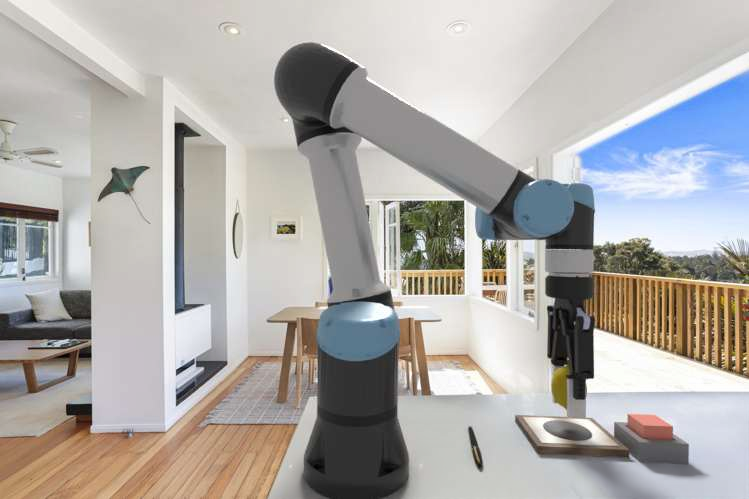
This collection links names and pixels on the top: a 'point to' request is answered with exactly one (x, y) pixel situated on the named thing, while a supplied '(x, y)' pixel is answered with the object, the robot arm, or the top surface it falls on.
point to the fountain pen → (475, 447)
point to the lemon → (561, 386)
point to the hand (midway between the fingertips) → (568, 409)
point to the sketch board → (569, 436)
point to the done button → (650, 427)
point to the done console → (652, 446)
